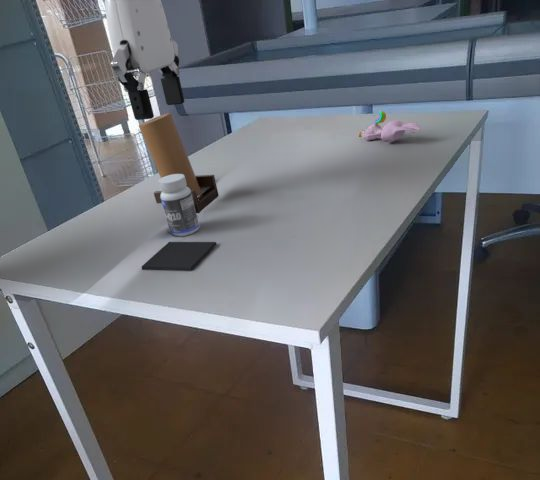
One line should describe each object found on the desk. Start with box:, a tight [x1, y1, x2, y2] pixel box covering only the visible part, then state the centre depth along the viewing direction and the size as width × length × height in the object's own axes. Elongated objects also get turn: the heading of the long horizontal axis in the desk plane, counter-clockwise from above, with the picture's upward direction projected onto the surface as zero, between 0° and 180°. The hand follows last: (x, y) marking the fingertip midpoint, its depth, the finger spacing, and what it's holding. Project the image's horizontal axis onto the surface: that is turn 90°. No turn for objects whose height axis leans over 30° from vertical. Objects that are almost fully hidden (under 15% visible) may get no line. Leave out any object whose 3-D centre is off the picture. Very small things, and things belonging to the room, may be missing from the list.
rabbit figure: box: [357, 110, 422, 144], centre depth 105 cm, size 6×6×15 cm
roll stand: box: [153, 174, 219, 214], centre depth 95 cm, size 8×8×4 cm
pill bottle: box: [158, 174, 200, 237], centre depth 84 cm, size 5×5×8 cm
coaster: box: [141, 241, 217, 272], centre depth 78 cm, size 8×8×1 cm
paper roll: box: [138, 112, 203, 200], centre depth 92 cm, size 14×6×6 cm
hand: (160, 111), depth 87 cm, fingers open, 9 cm apart
